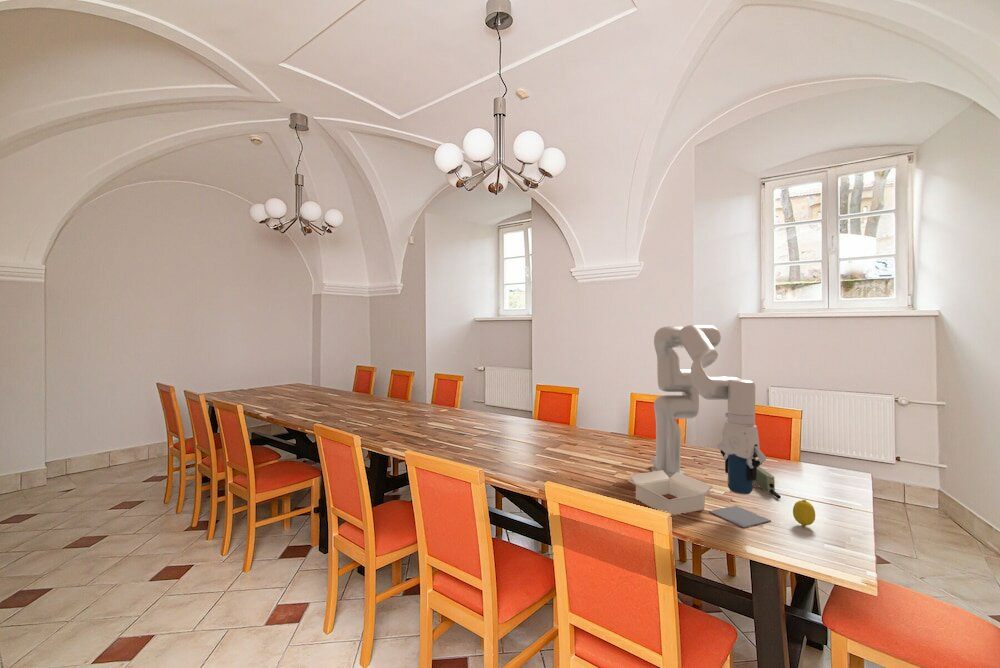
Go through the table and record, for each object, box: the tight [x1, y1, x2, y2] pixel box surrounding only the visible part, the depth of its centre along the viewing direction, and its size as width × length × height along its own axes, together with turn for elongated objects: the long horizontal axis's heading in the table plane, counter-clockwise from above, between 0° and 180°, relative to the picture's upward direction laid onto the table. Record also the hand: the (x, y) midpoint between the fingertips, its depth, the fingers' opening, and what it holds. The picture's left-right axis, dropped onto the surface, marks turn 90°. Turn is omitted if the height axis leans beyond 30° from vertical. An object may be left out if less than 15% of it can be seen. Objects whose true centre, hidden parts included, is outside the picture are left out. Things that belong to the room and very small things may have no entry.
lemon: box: [792, 499, 816, 527], centre depth 130 cm, size 6×6×8 cm
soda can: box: [727, 453, 754, 495], centre depth 136 cm, size 7×7×12 cm
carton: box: [627, 470, 715, 516], centre depth 146 cm, size 22×22×7 cm
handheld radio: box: [753, 465, 781, 500], centre depth 163 cm, size 7×3×25 cm
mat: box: [709, 505, 772, 529], centre depth 136 cm, size 12×12×1 cm
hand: (740, 475), depth 136 cm, fingers closed on soda can, 7 cm apart
